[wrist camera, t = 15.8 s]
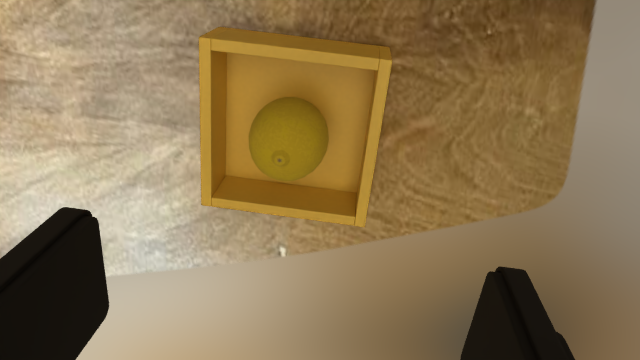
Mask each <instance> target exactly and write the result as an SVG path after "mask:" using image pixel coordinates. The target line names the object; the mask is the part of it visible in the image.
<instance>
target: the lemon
mask: <svg viewBox="0 0 640 360" xmlns="http://www.w3.org/2000/svg"><path fill="white" fill-rule="evenodd" d="M328 142H329V134H328V127H327V124H326V121H325V118H324V117H323V115H322V114H321V112H320V111H319V109H317V108H316V107H315V106H314V105H313V104H312V103H310V102H308V101H306V100H304V99H301V98H297V97H283V98H279V99H276V100H274V101H272V102H270V103H268V104H267V105H265V106H264V107H263V108H262V109H261V110H260V111H259V112H258V113H257V115H256V117H255V118H254V120H253V122H252V124H251V128H250V132H249V151H250V154H251V158H252V159H253V161H254V163H255V165H256V166H257V167H258V168H259V169H260V171H261V172H262V173H264V174H265V175H267V176H268V177H270V178H273V179H275V180H279V181H295V180H298V179H301V178H304V177H305V176H307V175H308V174H310V173H311V172H313V171H314V170H315V169H316V168H317V166H318V165H319V164H320V163H321V162H322V160H323V158H324V156H325V154H326V151H327V147H328Z"/></svg>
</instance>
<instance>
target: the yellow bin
mask: <svg viewBox="0 0 640 360" xmlns="http://www.w3.org/2000/svg"><path fill="white" fill-rule="evenodd" d="M391 66H392V57H391V52H390V48H389V47H385V46H376V45H368V44H360V43H351V42H343V41H334V40H326V39H318V38H309V37H301V36H293V35H284V34H276V33H267V32H259V31H251V30H242V29H234V28H226V27H218V28H216V29H214V30H212V31H210V32H208V33H206V34H204V35H202V36H200V37H199V80H200V146H201V205H204V206H212V207H219V208H227V209H234V210H242V211H249V212H257V213H264V214H271V215H279V216H286V217H294V218H301V219H308V220H316V221H323V222H331V223H338V224H346V225H354V226H360V227H365V222H366V216H367V210H368V204H369V198H370V192H371V186H372V180H373V174H374V168H375V162H376V156H377V150H378V144H379V138H380V132H381V126H382V120H383V114H384V108H385V102H386V96H387V90H388V84H389V78H390V72H391ZM283 97H297V98H301V99H304V100H306V101H308V102H310V103H312V104H313V105H314V106H315V107H316V108H317V109H319V111H320V112H321V114H322V115H323V117H324V118H325V121H326V124H327V127H328V134H329V142H328V147H327V151H326V154H325V156H324V158H323V160H322V162H321V163H320V164H319V165H318V166H317V168H316V169H315V170H314V171H313V172H311V173H310V174H308V175H307V176H305V177H304V178H301V179H298V180H295V181H279V180H275V179H273V178H270V177H268V176H267V175H265V174H264V173H262V172H261V171H260V169H259V168H258V167H257V166H256V165H255V163H254V161H253V159H252V158H251V154H250V151H249V132H250V128H251V124H252V122H253V120H254V118H255V117H256V115H257V113H258V112H259V111H260V110H261V109H262V108H263V107H264V106H265V105H267V104H268V103H270V102H272V101H274V100H276V99H279V98H283Z"/></svg>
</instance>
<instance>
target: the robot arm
mask: <svg viewBox="0 0 640 360" xmlns="http://www.w3.org/2000/svg"><path fill="white" fill-rule="evenodd" d="M108 309H109V300H108V293H107V284H106V277H105V269H104V261H103V254H102V246H101V238H100V231H99V223H98V220H97V218H95V217H92V214H91V212H90V211H88V210H83V209H76V208H68V207H63V208H61V209H59V210H58V211H57V212H56V213H55V214H53V215H52V216H51V217H50V218H49V219H47V220H46V221H45V222H44V223H43V224H41V225H40V226H39V227H38V228H37V229H35V230H34V231H33V232H32V233H31V234H29V235H28V236H27V237H26V238H25V239H23V240H22V241H21V242H20V243H19V244H18V245H16V246H15V247H14V248H13V249H12V250H10V251H9V252H8V253H7V254H6V255H4V256H3V257H2V258H1V259H0V360H76V358H77V357H78V355H79V354H80V352H81V351H82V350H83V348H84V347H85V346H86V344H87V343H88V341H89V340H90V339H91V337H92V336H93V335H94V333H95V332H96V330H97V329H98V328H99V326H100V324H101V323H102V322H103V321H104V319H105V317H106V315H107V312H108ZM461 360H575V359H574V357H573V355H572V353H571V351H570V349H569V347H568V345H567V343H566V341H565V339H564V338H563V336H562V335H561V334H559V333H558V332H556V331H555V329H554V327H553V325H552V323H551V321H550V319H549V317H548V315H547V313H546V311H545V309H544V307H543V305H542V303H541V301H540V299H539V297H538V294H537V292H536V290H535V289H534V286H533V284H532V282H531V280H530V278H529V276H528V274H527V273H526V271H524V270H522V269H515V268H507V267H498V268H497V269H496V271H495V272H489V273H488V274H487V276H486V279H485V282H484V285H483V288H482V292H481V295H480V298H479V301H478V304H477V307H476V310H475V313H474V316H473V320H472V323H471V326H470V329H469V332H468V335H467V338H466V341H465V345H464V348H463V351H462V354H461Z"/></svg>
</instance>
